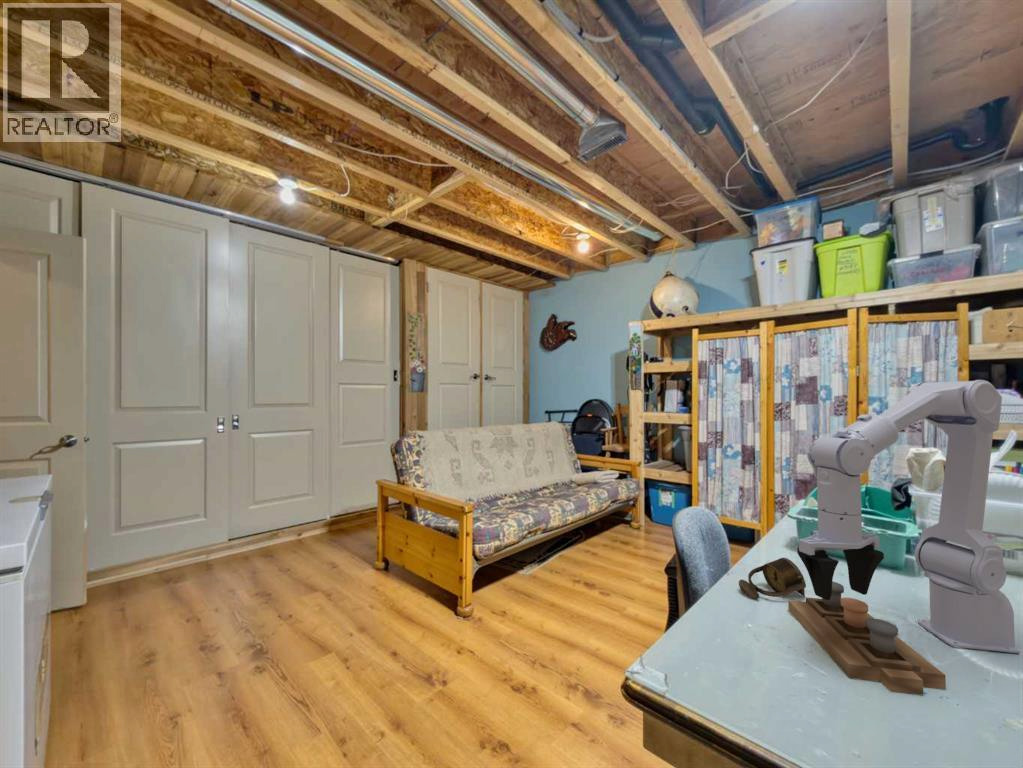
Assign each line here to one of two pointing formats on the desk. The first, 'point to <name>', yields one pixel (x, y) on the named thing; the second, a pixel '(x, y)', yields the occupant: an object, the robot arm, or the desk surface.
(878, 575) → the desk surface
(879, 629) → the grey plug near
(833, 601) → the grey plug far
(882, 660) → the walnut test board
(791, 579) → the brown watering can
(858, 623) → the terracotta plug
